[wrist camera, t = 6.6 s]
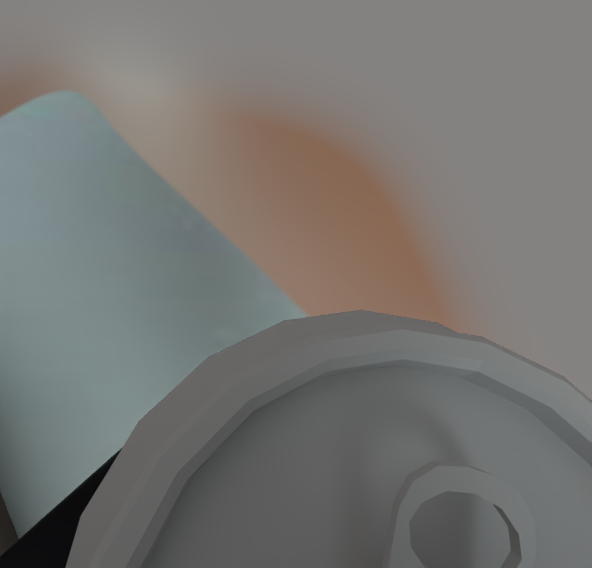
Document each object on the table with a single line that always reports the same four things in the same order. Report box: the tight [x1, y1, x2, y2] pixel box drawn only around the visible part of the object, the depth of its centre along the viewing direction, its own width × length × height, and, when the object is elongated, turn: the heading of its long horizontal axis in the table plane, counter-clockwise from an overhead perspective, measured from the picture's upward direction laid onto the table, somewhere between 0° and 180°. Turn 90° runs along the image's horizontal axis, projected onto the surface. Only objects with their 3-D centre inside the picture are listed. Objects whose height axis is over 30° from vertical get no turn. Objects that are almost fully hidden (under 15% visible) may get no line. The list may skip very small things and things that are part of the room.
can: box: [66, 310, 592, 568], centre depth 9 cm, size 8×8×12 cm
